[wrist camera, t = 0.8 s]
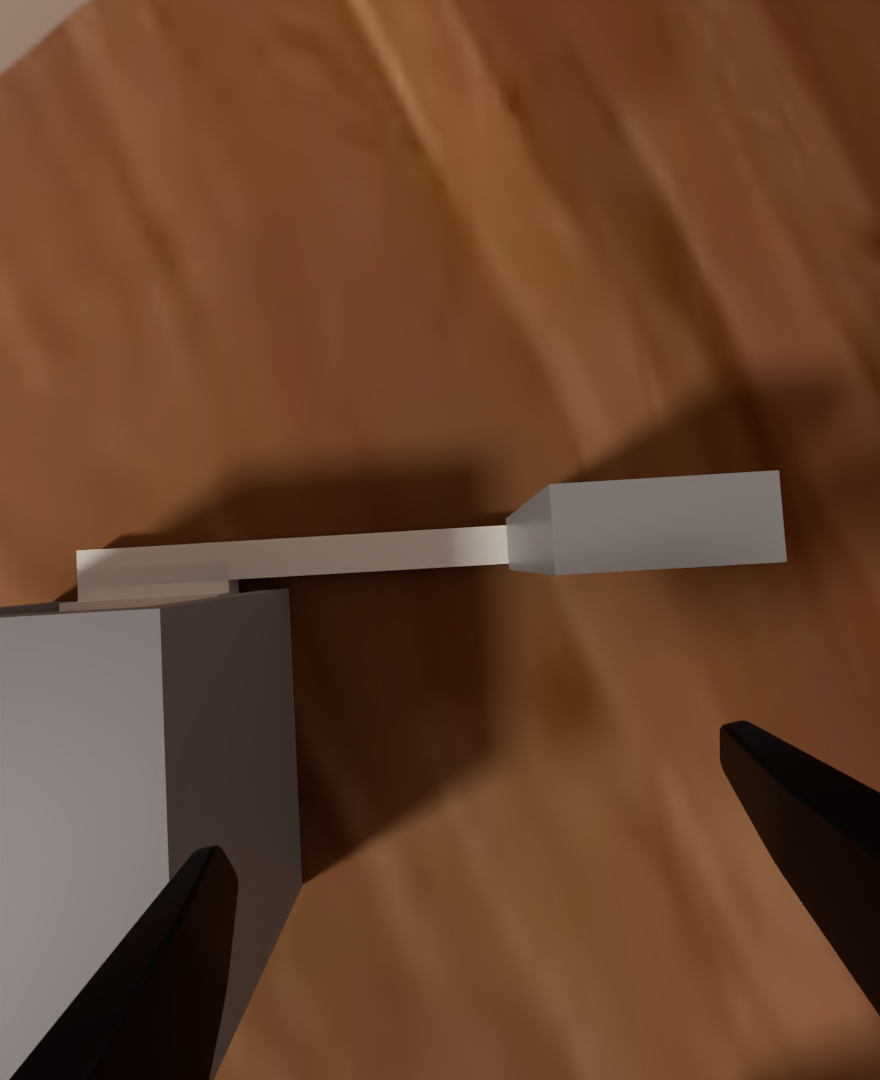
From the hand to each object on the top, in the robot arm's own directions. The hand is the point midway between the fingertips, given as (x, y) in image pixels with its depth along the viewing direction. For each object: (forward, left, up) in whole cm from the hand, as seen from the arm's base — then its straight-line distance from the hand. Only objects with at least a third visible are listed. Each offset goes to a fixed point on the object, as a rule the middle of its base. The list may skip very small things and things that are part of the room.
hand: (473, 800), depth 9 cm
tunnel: (+3, +12, -12) cm, 17 cm away
